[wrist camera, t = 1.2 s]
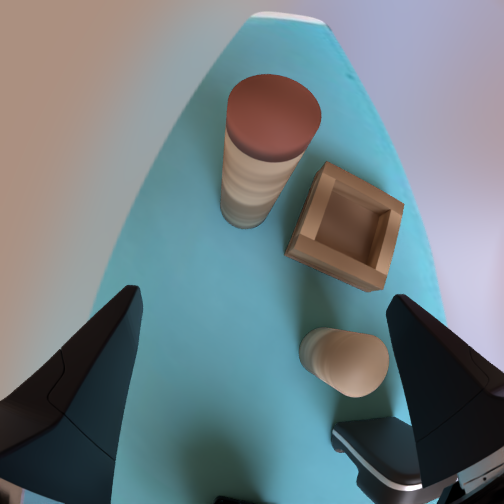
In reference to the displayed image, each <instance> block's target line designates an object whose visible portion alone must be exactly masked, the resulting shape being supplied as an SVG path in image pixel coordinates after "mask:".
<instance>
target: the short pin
mask: <svg viewBox="0 0 504 504" xmlns="http://www.w3.org/2000/svg"><path fill="white" fill-rule="evenodd" d="M299 358H300V361H301V363H302V365H303V367H304V368H305V369H306V370H308V371H309V372H311V373H312V374H313V375H315V376H316V377H318V378H319V379H321V380H322V381H324V382H325V383H327V384H329V385H330V386H332V387H333V388H335V389H336V390H338V391H339V392H341V393H342V394H344V395H346V396H349V397H362V396H365V395H368V394H370V393H371V392H373V391H374V390H375V389H376V388H378V386H379V385H380V384H381V383H382V381H383V380H384V378H385V376H386V374H387V371H388V367H389V354H388V351H387V348H386V346H385V344H384V343H383V342H382V341H381V340H380V339H379V338H377V337H376V336H373V335H369V334H363V333H357V332H351V331H345V330H339V329H333V328H328V327H320V328H316V329H314V330H312V331H310V332H309V333H308V334H307V335H306V336H305V337H304V339H303V340H302V342H301V344H300V348H299Z"/></svg>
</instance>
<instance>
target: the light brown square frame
mask: <svg viewBox="0 0 504 504" xmlns="http://www.w3.org/2000/svg"><path fill="white" fill-rule="evenodd" d="M403 209H404V204H403V203H402V202H400V201H399V200H397V199H395V198H394V197H392V196H390V195H388V194H387V193H385V192H383V191H382V190H380V189H378V188H376V187H375V186H373V185H371V184H369V183H367V182H366V181H364V180H362V179H360V178H358V177H356V176H355V175H353V174H351V173H349V172H347V171H345V170H343V169H341V168H339V167H337V166H335V165H333V164H331V163H329V162H327V161H326V162H325V164H324V165H323V166H322V168H321V169H320V170H319V171H318V172H317V173H316V174H315V177H314V180H313V182H312V185H311V188H310V190H309V193H308V196H307V198H306V201H305V203H304V206H303V209H302V211H301V214H300V216H299V219H298V221H297V224H296V227H295V229H294V232H293V234H292V237H291V239H290V242H289V244H288V247H287V249H286V252H285V254H284V255H285V256H287V257H289V258H291V259H294V260H296V261H298V262H300V263H303V264H305V265H307V266H309V267H312V268H314V269H316V270H318V271H320V272H323V273H325V274H327V275H329V276H332V277H334V278H336V279H338V280H340V281H343V282H345V283H347V284H349V285H351V286H354V287H356V288H358V289H360V290H362V291H365V292H371V291H376V290H383V288H384V285H385V281H386V278H387V274H388V271H389V267H390V264H391V260H392V256H393V252H394V248H395V244H396V240H397V236H398V232H399V227H400V223H401V218H402V214H403Z"/></svg>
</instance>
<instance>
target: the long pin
mask: <svg viewBox="0 0 504 504" xmlns="http://www.w3.org/2000/svg"><path fill="white" fill-rule="evenodd" d="M320 123H321V110H320V106H319V104H318V102H317V100H316V98H315V97H314V96H313V94H312V93H311V92H310V91H309V90H308V89H307V88H305V87H304V86H303V85H301V84H300V83H298V82H296V81H294V80H292V79H290V78H287V77H284V76H279V75H272V74H262V75H256V76H252V77H249V78H246V79H244V80H242V81H241V82H239V83H238V84H237V85H236V86H235V87H234V88H233V89H232V91H231V93H230V95H229V98H228V106H227V117H226V129H225V142H224V156H223V170H222V185H221V202H220V208H221V212H222V215H223V217H224V218H225V220H226V221H227V222H228V223H229V224H231V225H232V226H234V227H237V228H240V229H251V228H254V227H257V226H258V225H260V224H261V223H262V222H263V221H264V220H265V219H266V217H267V215H268V214H269V212H270V210H271V208H272V207H273V205H274V203H275V202H276V200H277V198H278V196H279V195H280V193H281V191H282V190H283V188H284V186H285V184H286V183H287V181H288V179H289V178H290V176H291V174H292V172H293V171H294V169H295V167H296V166H297V164H298V162H299V160H300V159H301V157H302V155H303V154H304V152H305V150H306V149H307V147H308V145H309V143H310V142H311V140H312V138H313V137H314V135H315V133H316V132H317V130H318V128H319V126H320Z"/></svg>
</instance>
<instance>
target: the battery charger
mask: <svg viewBox="0 0 504 504" xmlns="http://www.w3.org/2000/svg"><path fill="white" fill-rule="evenodd" d="M332 433H333V437H332V446H333V449H334V450H335V451H336V452H339V453H346V454H347V455H348V457H349V458H350V459H351V460H352V461H353V463H354V464H355V465H356V466H357V469H358V471H359V473H358V476H357V481H356V482H357V486H358V487H359V488H360V489H361V490H362V491H363V492H364V493H365V494H366V495H367V496H368V497H369V498H370V499H371V500H372V501H373V502H374V503H375V504H425V503H428V502H430V501H432V500H434V499H437V498H439V497H440V496H441V493H442V491H443V489H444V488H445V487H447V486H449V485H451V484H453V483H455V482H456V480H457V478H458V477H457V474H455V475H453V476H451V477H449V478H447V479H445V480H443V481H440V482H438V483H436V484H434V485H431V486H429V487H427V488H424V489H423V488H422V484H421V477H420V470H419V463H418V457H417V451H416V445H415V439H414V434H413V429H412V426H411V425H409V424H407V423H405V422H403V421H401V420H399V419H398V418H396V417H386V418H378V419H369V420H360V421H350V422H339V423H337V424H336V425H335V427H334V429H333V432H332Z"/></svg>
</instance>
